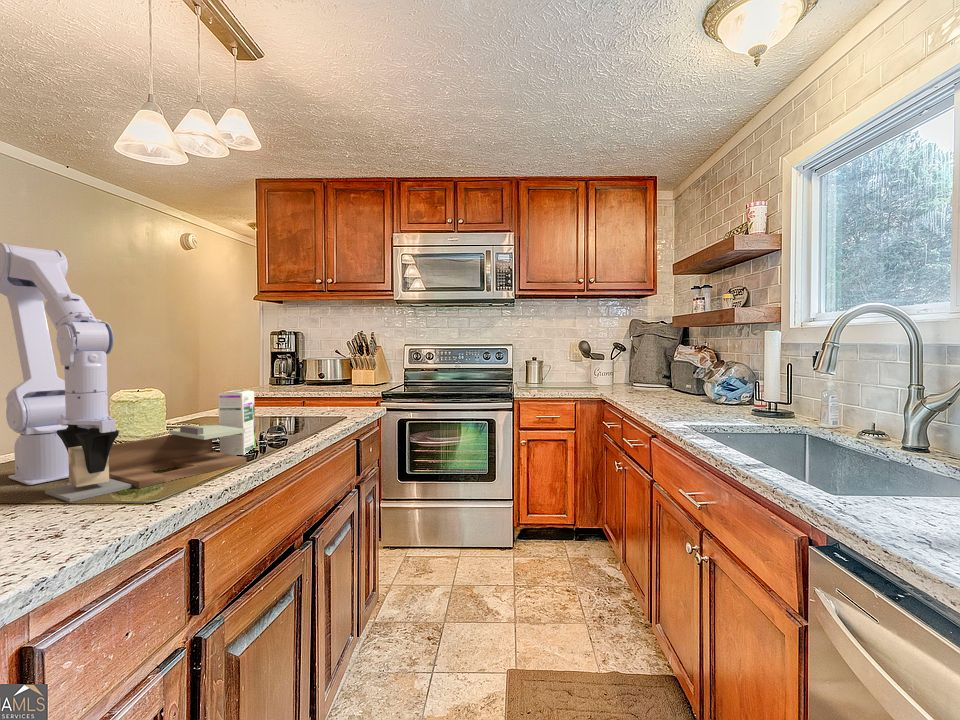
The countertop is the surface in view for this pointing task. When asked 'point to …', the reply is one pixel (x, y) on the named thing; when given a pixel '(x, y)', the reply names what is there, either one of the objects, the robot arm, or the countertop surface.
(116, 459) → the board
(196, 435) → the cover
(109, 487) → the mat
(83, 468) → the block
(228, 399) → the syrup box
